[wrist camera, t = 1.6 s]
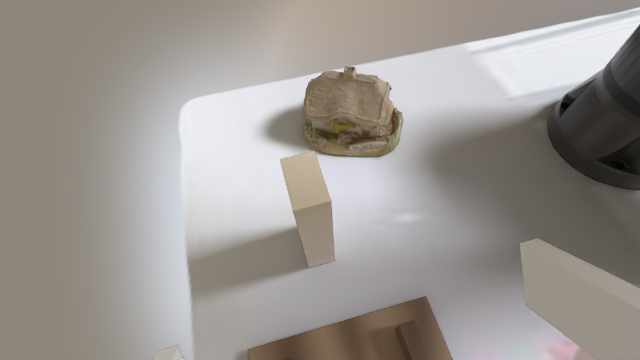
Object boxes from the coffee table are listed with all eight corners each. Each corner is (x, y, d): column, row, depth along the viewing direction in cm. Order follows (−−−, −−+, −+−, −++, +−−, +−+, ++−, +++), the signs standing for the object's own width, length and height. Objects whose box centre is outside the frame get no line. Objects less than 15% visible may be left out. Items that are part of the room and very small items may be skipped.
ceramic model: (289, 148, 47) (278, 94, 39) (312, 89, 53) (306, 31, 44) (394, 168, 45) (406, 115, 36) (406, 104, 50) (419, 45, 42)
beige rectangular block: (322, 220, 41) (314, 150, 29) (335, 260, 39) (331, 201, 27) (298, 227, 41) (279, 159, 29) (308, 267, 38) (293, 211, 26)
